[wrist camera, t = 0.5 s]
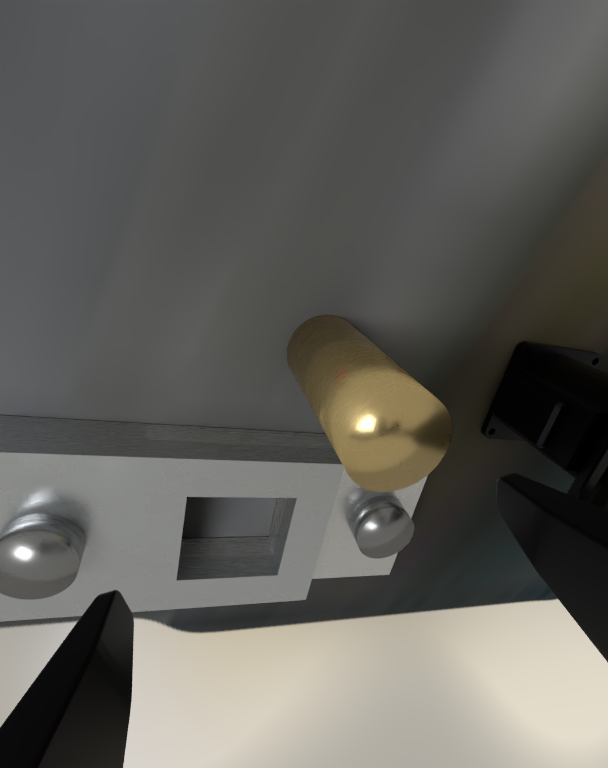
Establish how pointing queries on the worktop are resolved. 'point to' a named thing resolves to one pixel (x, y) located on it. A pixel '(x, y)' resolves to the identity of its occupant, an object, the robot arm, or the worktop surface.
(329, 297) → the worktop surface
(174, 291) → the worktop surface
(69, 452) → the plate with square hole
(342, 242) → the worktop surface
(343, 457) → the brass pin
